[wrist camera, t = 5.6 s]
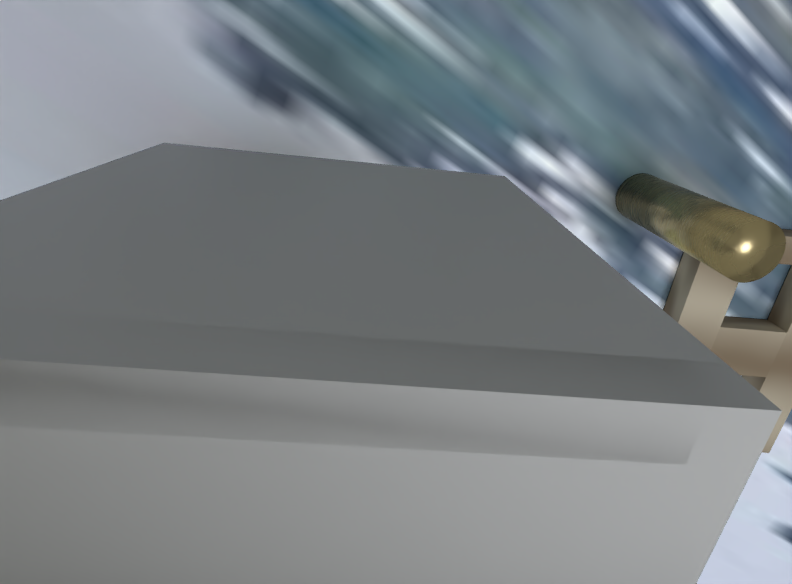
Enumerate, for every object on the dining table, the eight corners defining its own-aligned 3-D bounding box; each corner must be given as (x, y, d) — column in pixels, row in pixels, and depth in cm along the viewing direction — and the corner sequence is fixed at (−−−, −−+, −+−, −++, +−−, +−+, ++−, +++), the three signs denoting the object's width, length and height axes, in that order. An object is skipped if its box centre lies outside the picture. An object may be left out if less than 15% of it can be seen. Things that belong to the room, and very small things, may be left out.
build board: (694, 220, 28) (712, 229, 26) (848, 235, 28) (874, 244, 27) (622, 427, 33) (633, 444, 32) (752, 436, 34) (769, 452, 32)
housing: (164, 143, 10) (-379, 334, 3) (504, 176, 11) (783, 410, 3) (192, 510, 14) (-3, 981, 7) (439, 521, 15) (502, 971, 7)
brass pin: (623, 171, 26) (733, 218, 18) (666, 176, 27) (796, 224, 18) (610, 216, 27) (710, 279, 19) (653, 220, 27) (770, 284, 19)
